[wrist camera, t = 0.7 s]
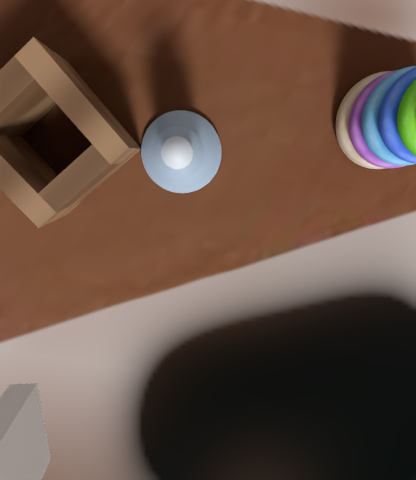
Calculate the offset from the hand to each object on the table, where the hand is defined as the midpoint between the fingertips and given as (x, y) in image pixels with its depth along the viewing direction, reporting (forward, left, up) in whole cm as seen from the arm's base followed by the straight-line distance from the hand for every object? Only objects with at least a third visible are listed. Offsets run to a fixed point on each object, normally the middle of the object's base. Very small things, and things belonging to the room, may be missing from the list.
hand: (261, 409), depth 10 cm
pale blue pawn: (-8, +2, -22) cm, 24 cm away
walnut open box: (-15, -5, -22) cm, 27 cm away
